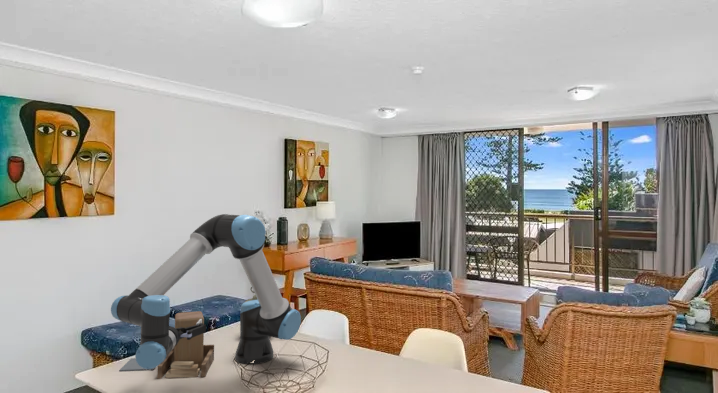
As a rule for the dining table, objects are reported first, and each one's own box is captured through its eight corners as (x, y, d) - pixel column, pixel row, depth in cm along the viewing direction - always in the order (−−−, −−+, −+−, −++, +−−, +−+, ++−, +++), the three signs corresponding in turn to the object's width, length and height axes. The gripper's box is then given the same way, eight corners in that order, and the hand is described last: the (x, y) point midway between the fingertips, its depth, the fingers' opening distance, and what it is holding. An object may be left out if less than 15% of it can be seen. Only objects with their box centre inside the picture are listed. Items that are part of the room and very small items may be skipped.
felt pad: (131, 359, 177) (131, 358, 177) (162, 358, 179) (162, 357, 179) (119, 371, 165) (119, 369, 165) (153, 370, 167) (153, 368, 167)
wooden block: (173, 364, 173) (175, 312, 173) (201, 361, 177) (202, 310, 177) (174, 373, 164) (175, 319, 164) (203, 369, 168) (204, 316, 168)
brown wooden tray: (170, 361, 177) (171, 345, 177) (213, 359, 179) (214, 344, 179) (157, 378, 159) (157, 361, 159) (205, 377, 161) (205, 360, 162)
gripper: (121, 353, 138) (144, 334, 159) (205, 352, 141) (216, 332, 162) (122, 329, 138) (144, 312, 159) (206, 328, 141) (217, 312, 162)
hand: (181, 322), depth 161 cm, fingers open, 13 cm apart
